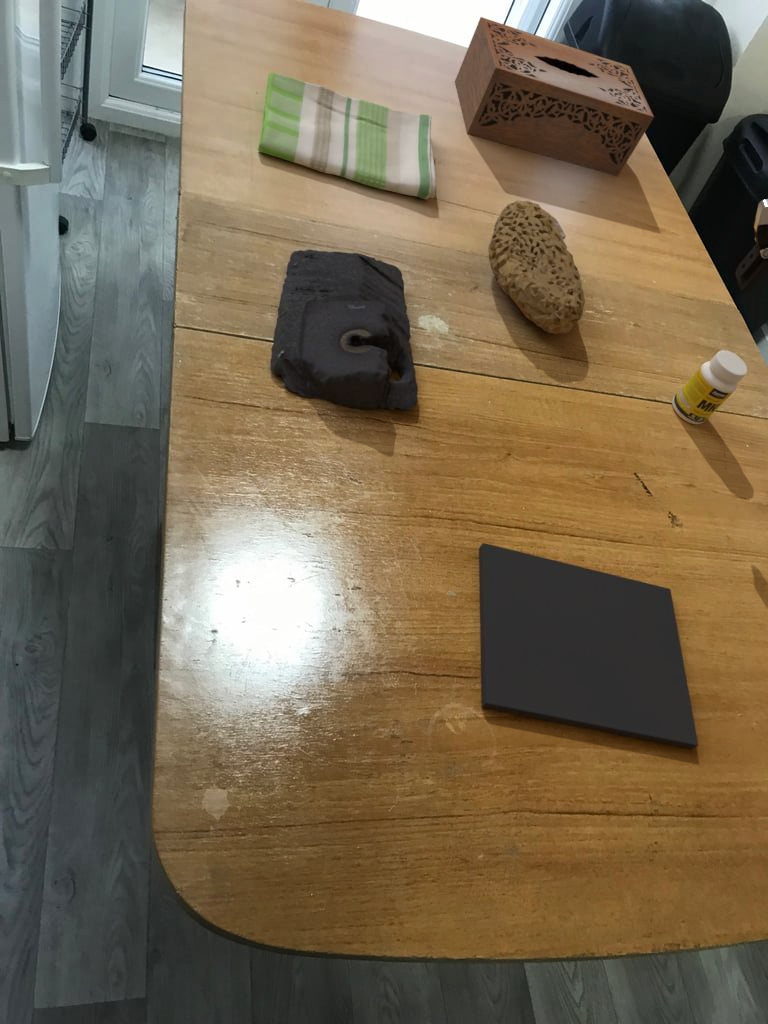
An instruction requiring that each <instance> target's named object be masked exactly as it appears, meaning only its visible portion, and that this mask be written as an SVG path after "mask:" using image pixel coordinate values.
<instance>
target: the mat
mask: <svg viewBox="0 0 768 1024" xmlns="http://www.w3.org/2000/svg"><path fill="white" fill-rule="evenodd" d="M478 570H479V571H478V574H479V577H478V579H479V580H478V581H479V583H478V584H479V626H480V627H479V633H480V634H479V637H480V638H479V640H480V644H479V645H480V690H481V691H480V693H481V694H480V695H481V698H480V699H481V704H480V705H481V709H487V710H491V711H496V712H502V713H507V714H512V715H516V716H521V717H527V718H531V719H537V720H542V721H546V722H552V723H556V724H561V725H566V726H571V727H576V728H581V729H586V730H593V731H597V732H602V733H608V734H612V735H617V736H623V737H627V738H633V739H636V740H641V741H648V742H653V743H657V744H663V745H668V746H672V747H677V748H683V749H688V750H693V749H695V748H697V747H699V741H698V735H697V731H696V725H695V718H694V714H693V708H692V703H691V696H690V691H689V686H688V680H687V674H686V669H685V663H684V658H683V652H682V645H681V641H680V636H679V630H678V629H679V628H678V624H677V618H676V613H675V608H674V602H673V596H672V590H671V588H670V587H669V588H668V587H664V586H659V585H657V584H652V583H647V582H645V581H640V580H635V579H631V578H628V577H624V576H619V575H617V574H612V573H607V572H603V571H600V570H595V569H591V568H587V567H582V566H578V565H576V564H575V565H574V564H571V563H567V562H563V561H559V560H554V559H550V558H546V557H542V556H538V555H534V554H530V553H527V552H522V551H516V550H513V549H509V548H505V547H502V546H498V545H493V544H489V543H486V542H483V543H481V545H480V546H479V548H478Z"/></svg>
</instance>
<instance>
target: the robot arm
mask: <svg viewBox="0 0 768 1024" xmlns="http://www.w3.org/2000/svg"><path fill="white" fill-rule="evenodd" d="M752 225H753V230H754V231H753V232H754V240H755V245H754V246H753V247H752V248H751V250H750V251H749V252H748V253H747V255H745V257H744V258H743V259H742V261H741V262H740V263H739V264H738V266H737V267H736V270H735V273H734V274H735V278H736V281H737V284H738V287H739V290H740V291H741V292H744V293H748V292H749V291H751V290H752V288H753V287H754V286H755V285H756V283H757V282H758V281H759V280H760V279H761V278H762V276H763V275H764V274H765V273H766V272H767V271H768V198H766V199H762V200H760V201H759V203H758V204H757V210H756V214H755V220H754V221H753V224H752Z"/></svg>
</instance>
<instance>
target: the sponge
mask: <svg viewBox="0 0 768 1024" xmlns="http://www.w3.org/2000/svg"><path fill="white" fill-rule="evenodd" d="M493 227H494V228H493V233H492V234H491V235H492V236H491V239H490V242H489V245H488V250H487V251H488V252H487V253H488V259H489V264H490V268H491V270H492V274H493V276H494V278H496V281H497V283H498V285H499V286H500V287H501V289H502V290H503V292H504V293H505V294H506V295H507V296H508V297H510V299H511V300H512V301H513V302H514V304H515V305H516V306H517V307H518V309H519V310H520V312H521V313H522V314H523V316H524V317H525V318H526V319H528V320H529V321H531V322H532V323H534V324H535V325H536V327H538V328H541V329H542V331H545V332H546V333H548V334H557V335H558V334H566V333H569V332H570V331H572V328H573V326H574V325H575V324H576V323H578V321H580V320H581V318H582V317H583V314H584V307H585V301H586V300H585V299H586V298H585V294H584V290H583V286H582V282H581V276H580V272H579V269H578V267H577V266H576V264H575V261H574V256H573V254H572V253H571V252H570V251H569V250H567V249H568V247H567V245H566V244H567V243H566V242H565V241H564V240H565V239H566V237H567V235H566V233H565V232H564V230H563V228H562V226H561V225H560V223H559V221H558V220H557V218H555V217H554V216H553V215H551V213H549V212H548V211H546V210H544V209H543V208H542V207H541V206H540V204H539V203H535V202H532V201H529V200H524V201H523V200H516V201H514V202H510V203H508V204H507V205H506V206H505V207H504V208H503V209H502V210H501V212H500V213H499V216H498V217H497V218H496V221H495V223H494V226H493Z"/></svg>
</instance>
